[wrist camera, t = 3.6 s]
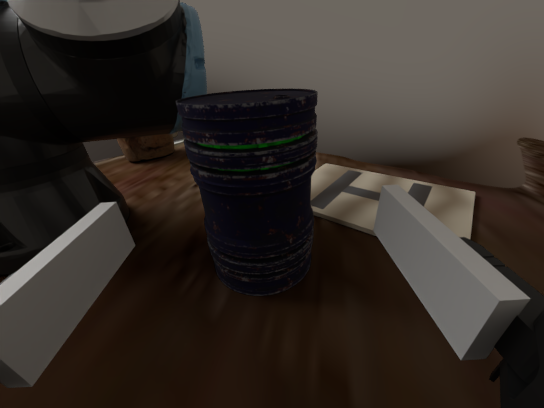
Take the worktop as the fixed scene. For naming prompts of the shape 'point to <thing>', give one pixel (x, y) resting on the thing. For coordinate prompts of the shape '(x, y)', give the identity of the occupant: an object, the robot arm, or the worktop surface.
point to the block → (146, 146)
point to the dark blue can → (254, 182)
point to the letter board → (366, 193)
